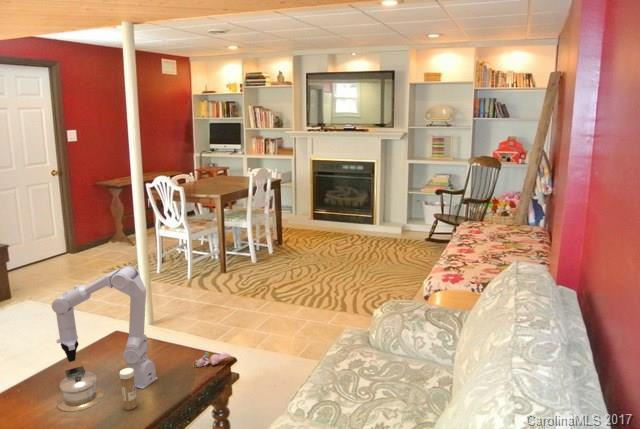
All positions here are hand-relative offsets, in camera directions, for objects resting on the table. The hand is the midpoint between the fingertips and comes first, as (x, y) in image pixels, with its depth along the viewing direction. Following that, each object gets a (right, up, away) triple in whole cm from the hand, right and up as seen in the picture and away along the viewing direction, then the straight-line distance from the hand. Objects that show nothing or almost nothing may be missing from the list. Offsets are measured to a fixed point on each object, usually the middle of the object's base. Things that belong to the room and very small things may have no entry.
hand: (71, 360), depth 188 cm
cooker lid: (+7, -5, -9) cm, 12 cm away
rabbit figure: (+50, -5, +13) cm, 52 cm away
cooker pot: (+8, -11, -10) cm, 17 cm away
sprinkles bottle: (+27, -12, -15) cm, 33 cm away
